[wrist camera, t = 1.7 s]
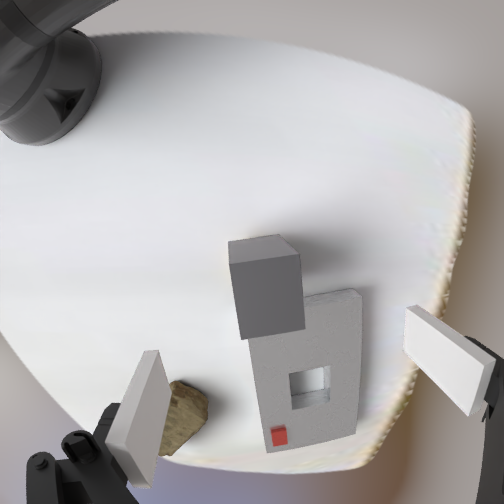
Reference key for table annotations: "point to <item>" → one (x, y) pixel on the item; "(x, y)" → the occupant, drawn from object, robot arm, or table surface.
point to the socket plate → (304, 358)
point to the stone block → (182, 417)
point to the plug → (266, 286)
